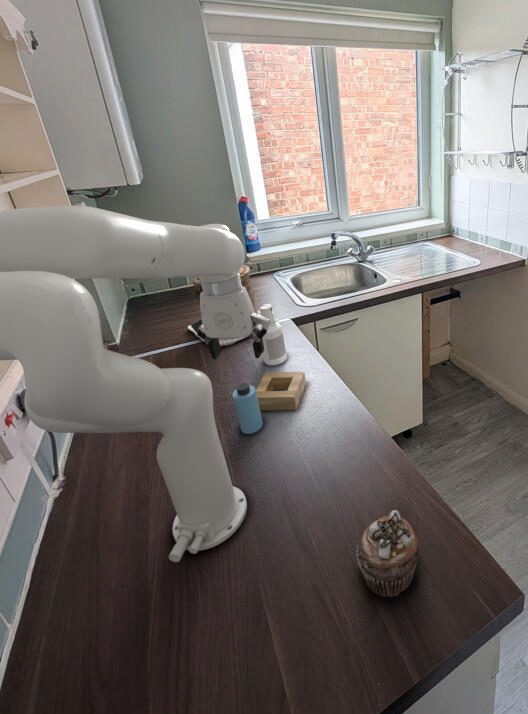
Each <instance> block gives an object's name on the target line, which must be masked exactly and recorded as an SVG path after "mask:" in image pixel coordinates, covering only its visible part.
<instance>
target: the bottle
mask: <svg viewBox="0 0 528 714" xmlns="http://www.w3.org/2000/svg"><path fill="white" fill-rule="evenodd" d="M232 398H233V403H234V407H235V410H236V414H237V418H238V422H239V426H240V430H241V432H242V434H246V435H247V434H249V435H250V434H254V433H257V432H258V431H259V430H261V429H262V428H263V425H264V422H263V418H262V413H261V410H260V408H259V404H258V399H257V395H256V388H255V386H253V385H250V384H249V383H248V382H242V383H240V384H238V385H237V386H236V388H235V390H234V391H233V392H232Z"/></svg>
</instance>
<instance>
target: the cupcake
mask: <svg viewBox="0 0 528 714" xmlns="http://www.w3.org/2000/svg"><path fill="white" fill-rule="evenodd" d="M356 548H357V549H356V550H355V551H356V554H355V556H356V561H357V565H358V567H359V569H360V571H361V574H362V575H363V578H364V580H365V583H366V585H367V586H368V588H370V589H371V591H372V592H373V593H374V594H376V595H378V596H381V597H383V598H386V597H387V598H392V597H398V596H399V594H400V593H402V592H403V591H405V590H406V589H407V588H408V587H409V586H410V584H411V583H412V580H413V578H414V575H415V570H416V567H417V564H418V559H419V554H420V542H419V536H418V534H417V531H416V530H415V529H414V527H413V526H412V525H411V523H409V521H407V520H406V519H405V518H403V517H402V516H401V514H400V512H399V510H397V509H393V510H391V511H390V513H389V514H387V515H384V516H380V517H379V518H378V519H376V520H374V521H373V522H371V523H370V524H369V525H368V526H367V527H366V528H365V530H364V531H363V533H362V534H361V537H360V540H358V544H357V545H356Z"/></svg>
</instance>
